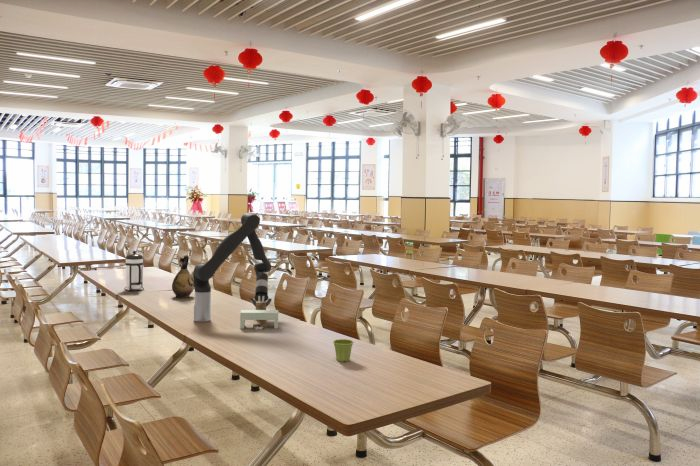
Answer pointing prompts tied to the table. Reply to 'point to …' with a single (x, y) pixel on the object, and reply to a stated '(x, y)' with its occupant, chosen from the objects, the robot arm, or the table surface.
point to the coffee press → (134, 271)
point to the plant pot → (343, 349)
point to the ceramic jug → (183, 280)
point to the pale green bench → (258, 316)
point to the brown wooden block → (260, 322)
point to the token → (259, 327)
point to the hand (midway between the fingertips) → (260, 312)
